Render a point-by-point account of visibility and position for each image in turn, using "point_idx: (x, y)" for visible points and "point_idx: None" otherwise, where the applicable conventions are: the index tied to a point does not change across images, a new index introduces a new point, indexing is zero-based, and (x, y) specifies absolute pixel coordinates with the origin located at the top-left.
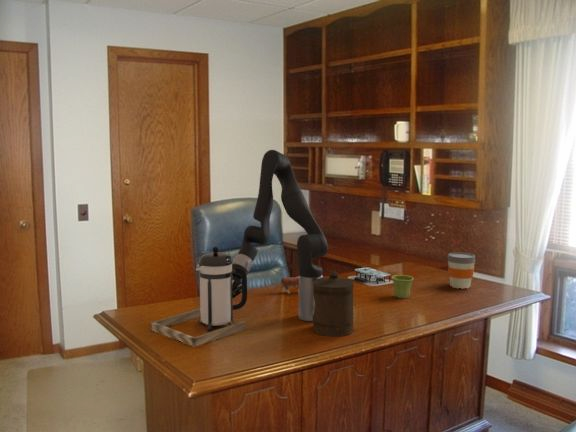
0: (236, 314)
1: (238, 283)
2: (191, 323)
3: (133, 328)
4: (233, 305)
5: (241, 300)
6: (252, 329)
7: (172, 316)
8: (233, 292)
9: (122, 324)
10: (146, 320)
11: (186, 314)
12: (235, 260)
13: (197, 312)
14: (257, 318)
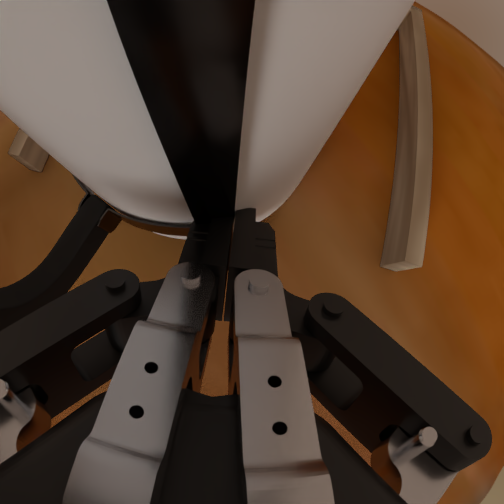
0: (201, 393)
1: (6, 466)
2: (348, 121)
3: (456, 41)
4: (86, 220)
5: (27, 297)
6: (7, 190)
7: (425, 71)
8: (70, 299)
9: (499, 70)
10: (496, 113)
11: (414, 132)
12: None
13: (404, 211)
14: None
